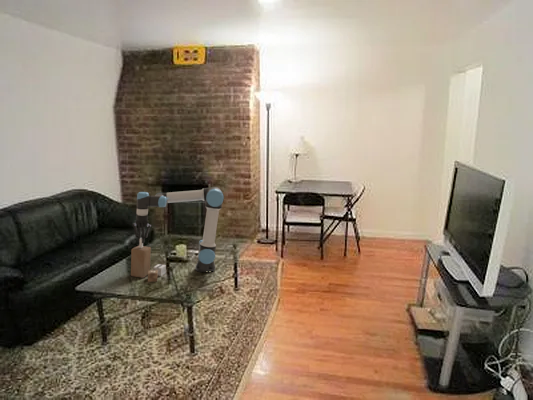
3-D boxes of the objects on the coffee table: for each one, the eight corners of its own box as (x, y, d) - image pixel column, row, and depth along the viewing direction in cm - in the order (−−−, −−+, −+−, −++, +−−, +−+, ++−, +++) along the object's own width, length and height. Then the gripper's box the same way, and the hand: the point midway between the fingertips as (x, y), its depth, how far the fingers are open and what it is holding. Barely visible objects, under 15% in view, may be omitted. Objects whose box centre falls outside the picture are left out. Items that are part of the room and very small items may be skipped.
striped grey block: (165, 273, 270) (165, 264, 269) (161, 276, 263) (161, 268, 262) (158, 271, 271) (158, 263, 270) (153, 275, 264) (153, 266, 263)
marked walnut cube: (157, 278, 259) (157, 269, 258) (157, 281, 253) (157, 273, 252) (148, 278, 258) (148, 270, 257) (147, 281, 252) (148, 273, 251)
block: (143, 278, 257) (144, 250, 254) (130, 276, 259) (130, 248, 255) (150, 273, 266) (151, 246, 263) (137, 271, 268) (138, 245, 265)
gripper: (153, 214, 259) (152, 246, 263) (134, 212, 259) (133, 245, 263) (149, 216, 252) (148, 249, 255) (130, 214, 252) (129, 248, 256)
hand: (141, 247), depth 259 cm, fingers closed
